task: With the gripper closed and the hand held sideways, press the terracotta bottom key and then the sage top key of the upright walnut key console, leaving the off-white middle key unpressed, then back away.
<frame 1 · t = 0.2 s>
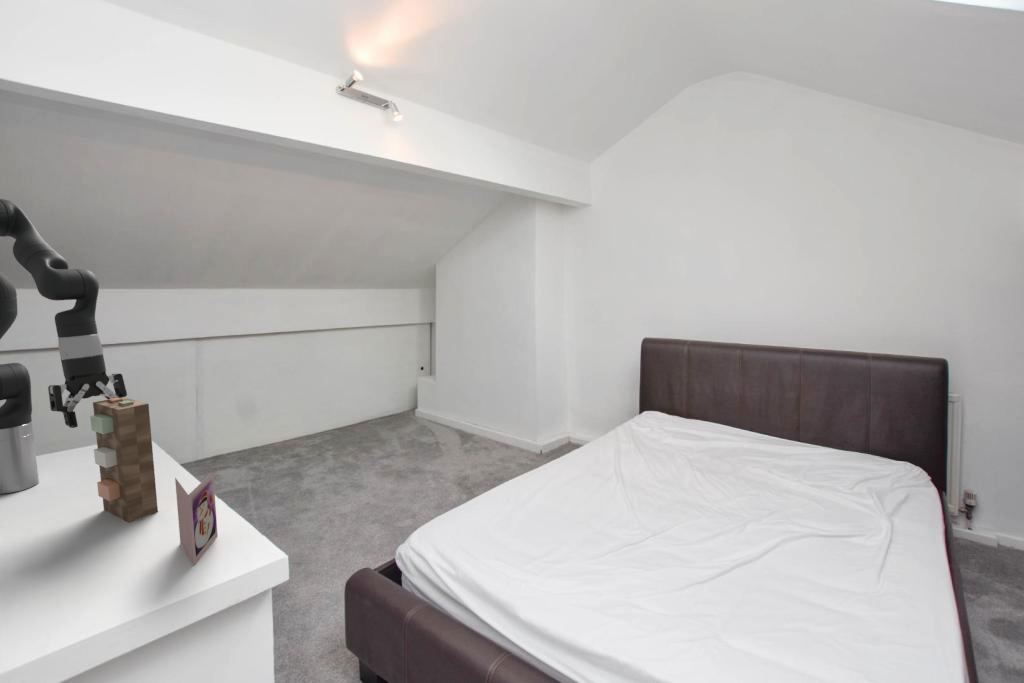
hand: (94, 421, 116), 22 cm above the cabinet, tool pointing down, fingers open, 8 cm apart
key middle: (108, 456, 114), point 15 cm above the cabinet, slide at 0.0 cm
greeting card: (191, 552, 102), on the cabinet
console: (130, 511, 119), on the cabinet
key top: (104, 423, 113), point 23 cm above the cabinet, slide at 0.0 cm
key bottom: (111, 489, 115), point 7 cm above the cabinet, slide at 0.0 cm
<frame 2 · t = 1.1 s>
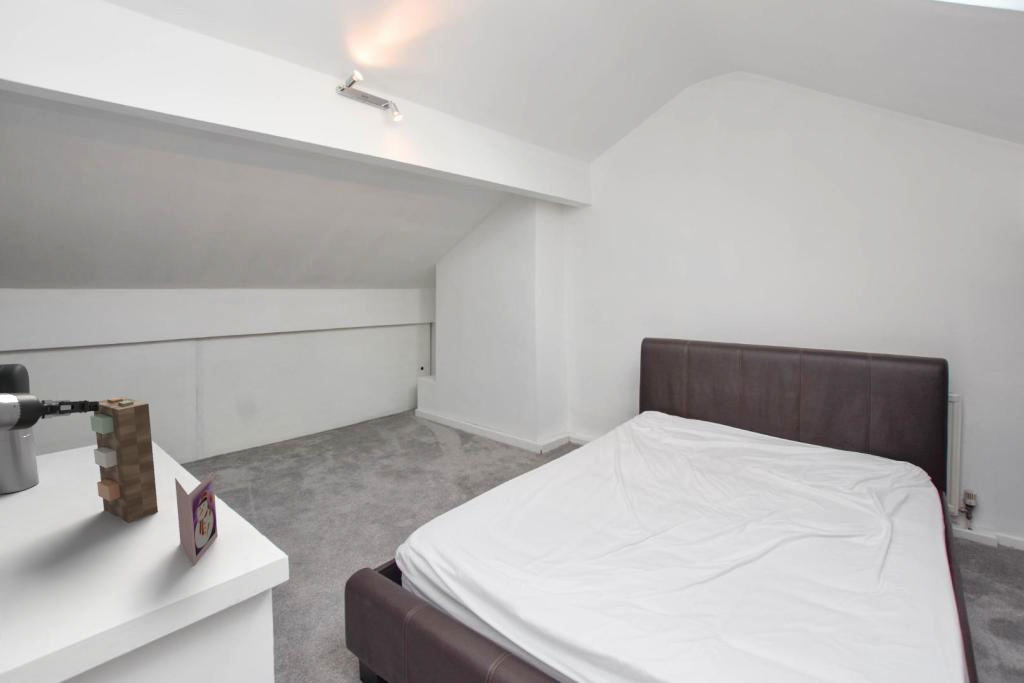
hand: (80, 407, 113), 26 cm above the cabinet, tool horizontal, fingers open, 8 cm apart
nothing on the cabinet moved.
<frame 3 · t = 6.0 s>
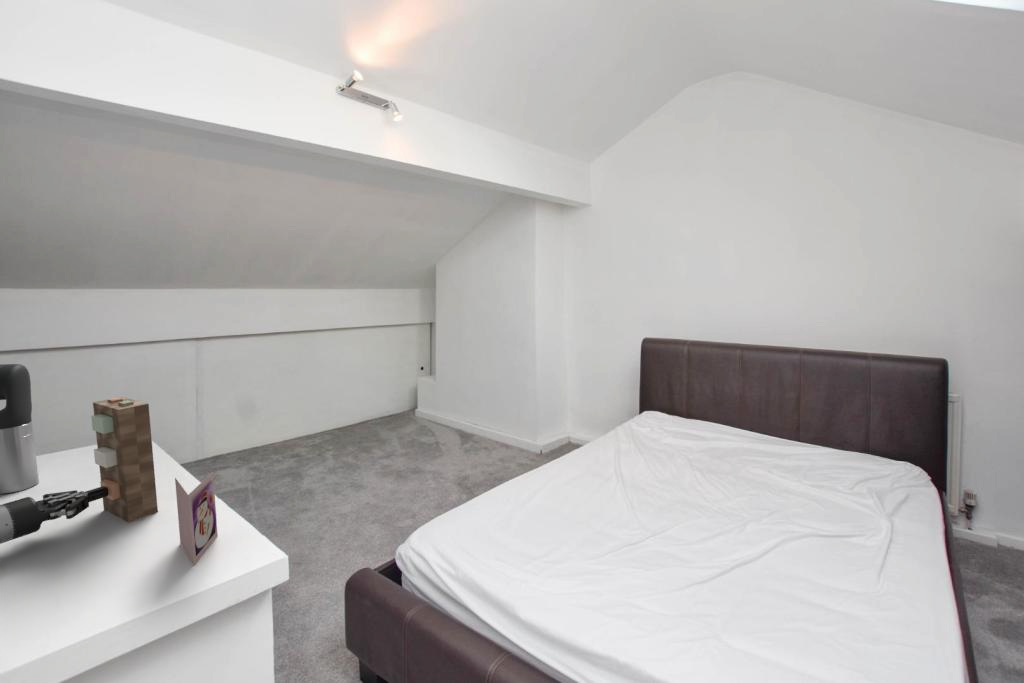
hand: (106, 490, 114), 7 cm above the cabinet, tool horizontal, fingers closed
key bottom: (114, 488, 115), point 7 cm above the cabinet, slide at 0.6 cm, touching gripper
everything else where it was.
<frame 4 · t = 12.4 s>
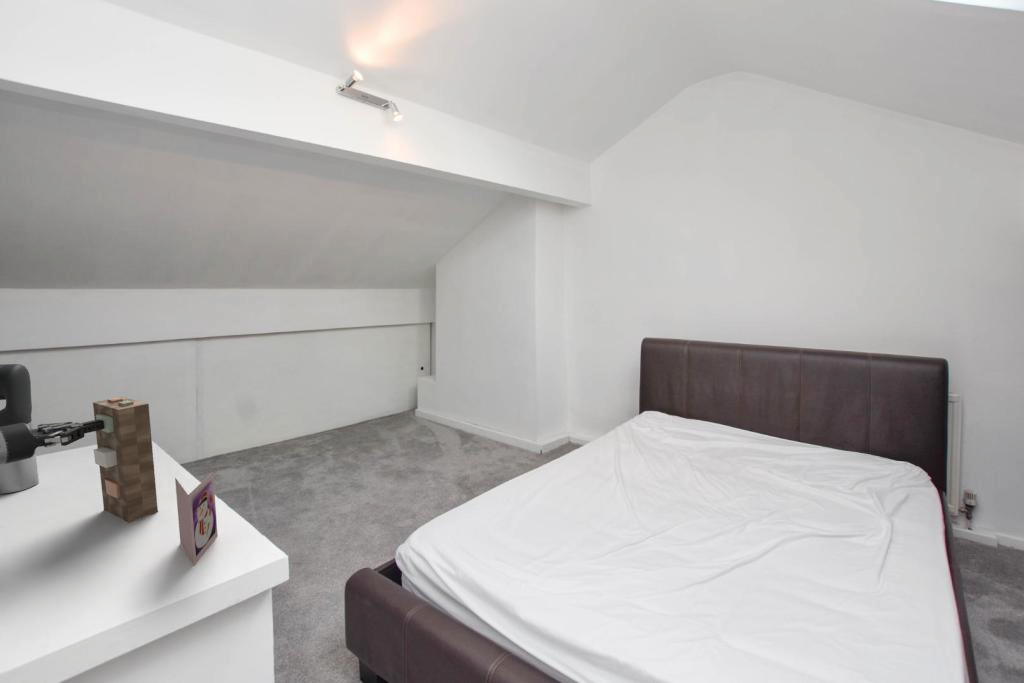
hand: (102, 424, 112), 23 cm above the cabinet, tool horizontal, fingers closed
key top: (110, 422, 113), point 23 cm above the cabinet, slide at 1.1 cm, touching gripper
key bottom: (119, 486, 116), point 7 cm above the cabinet, slide at 1.5 cm
everything else where it was.
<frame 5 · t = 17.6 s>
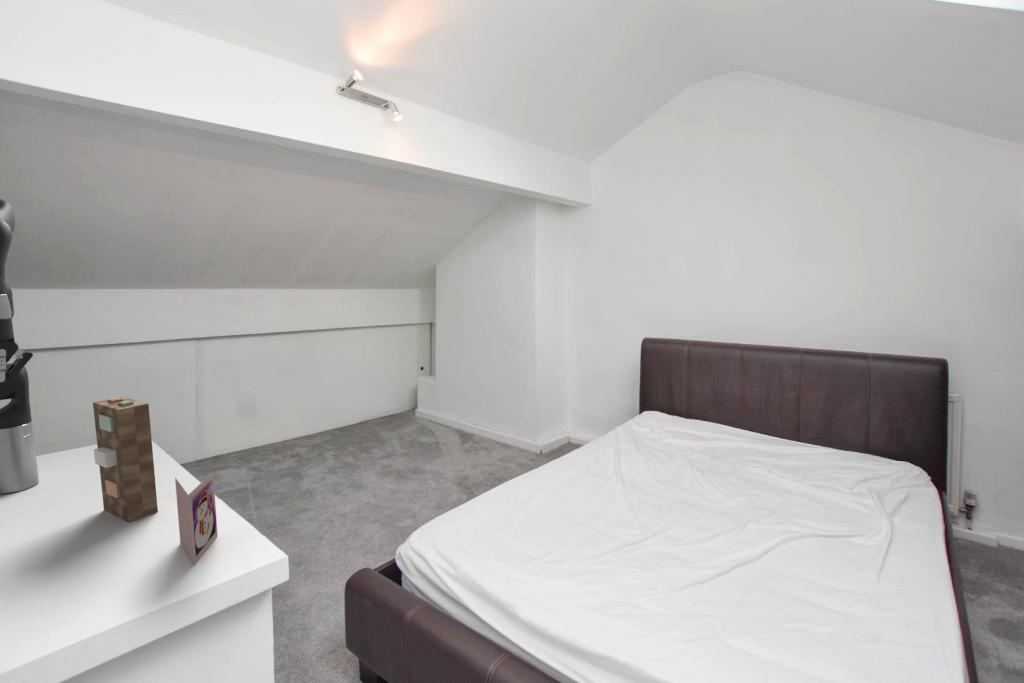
key top: (112, 421, 114), point 23 cm above the cabinet, slide at 1.6 cm
everything else where it was.
at the end: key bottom slide at 1.5 cm; key top slide at 1.6 cm; key middle slide at 0.0 cm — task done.
